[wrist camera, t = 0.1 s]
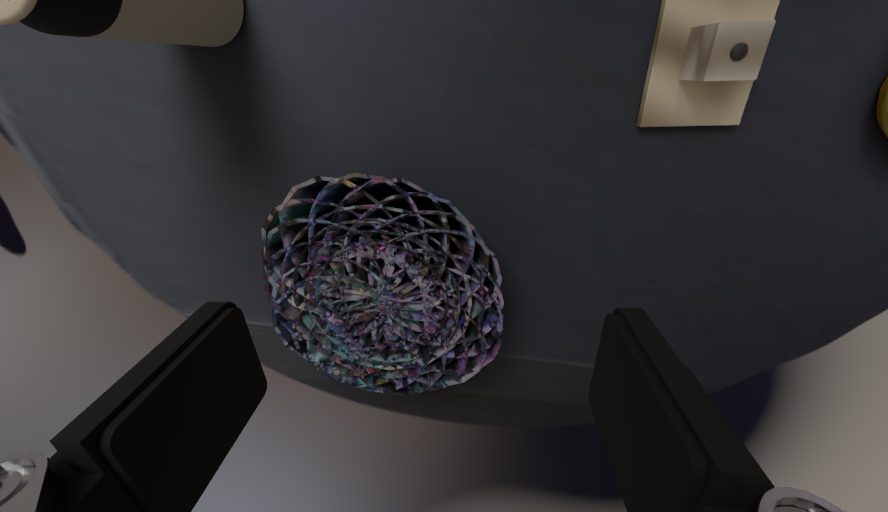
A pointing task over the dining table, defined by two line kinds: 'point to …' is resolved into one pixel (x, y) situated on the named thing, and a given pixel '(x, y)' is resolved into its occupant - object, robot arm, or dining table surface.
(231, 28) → the travel mug
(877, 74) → the dining table surface
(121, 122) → the dining table surface
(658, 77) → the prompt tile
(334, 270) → the decorative bowl
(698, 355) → the dining table surface
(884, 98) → the decorated donut
